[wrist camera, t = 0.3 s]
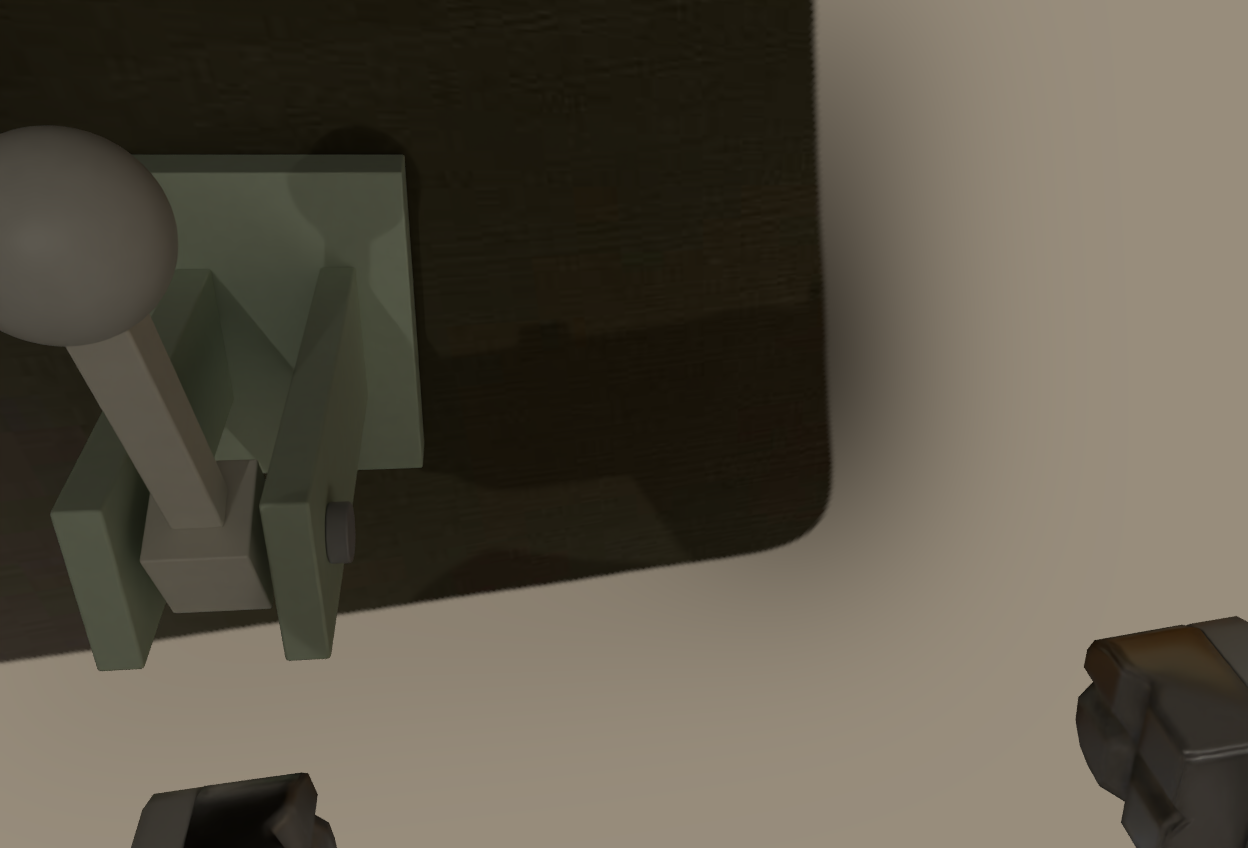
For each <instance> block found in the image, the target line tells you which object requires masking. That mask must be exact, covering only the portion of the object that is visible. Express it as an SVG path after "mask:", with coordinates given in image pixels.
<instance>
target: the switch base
mask: <svg viewBox="0 0 1248 848" xmlns="http://www.w3.org/2000/svg"><path fill="white" fill-rule="evenodd" d="M133 156H134V157H135V158H136V159H138V160H139V161H140V162H141V163H142V164H143V165H144V166H145V167H146V168H147V169H148V170H149V172H150V173H151V174H152V175H153V176H154V178H155V179H156V180H157V181H158V183H159V184H160V186H161V187H162V189H163V191H164V193H165V195H166V197H167V199H168V201H169V203H170V205H171V208H172V211H173V214H174V217H175V221H176V225H177V233H178V257H177V263H176V267H175V271H174V275H173V277H172V280H171V282H170V285H169V287H168V289H167V291H166V293H165V294H164V296H163V297H162V299H161V300H160V301H159V303H158V304H157V306H156V307H155V308H154V309H153V310H152V311H151V312H150V313H149V314H150V316H151V319H152V321H153V323H154V325H155V327H156V330H157V332H158V334H159V336H160V339H161V341H162V343H163V345H164V347H165V350H166V352H167V354H168V356H169V358H170V361H171V363H172V365H173V367H174V370H175V372H176V374H177V376H178V378H179V381H180V383H181V385H182V387H183V390H184V392H185V394H186V396H187V398H188V401H189V403H190V405H191V407H192V409H193V412H194V414H195V416H196V418H197V421H198V423H199V425H200V427H201V429H202V432H203V434H204V436H205V438H206V441H207V443H208V445H209V447H210V449H211V452H212V454H213V456H214V458H215V460H216V461H223V460H253V459H256V460H258V462H259V465H260V467H261V470H262V473H267V477H266V481H265V485H264V489H263V492H262V496H261V500H260V504H259V509H260V515H261V521H262V527H263V532H264V538H265V544H266V549H267V555H268V561H269V567H270V572H271V578H272V584H273V589H274V595H275V601H276V607H277V612H278V618H279V624H280V629H281V635H282V641H283V646H284V652H285V657H286V659H287V660H289V661H291V660H310V659H327V658H330V656H331V652H332V644H333V638H334V630H335V624H336V617H337V610H338V603H339V596H340V589H341V582H342V575H343V568H344V563H351V562H352V561H353V558H354V552H355V519H354V510H353V506H352V504H353V497H354V490H355V483H356V476H357V470H366V469H395V468H421V467H422V466H423V454H424V432H423V418H422V403H421V389H420V374H419V360H418V346H417V331H416V317H415V302H414V288H413V274H412V259H411V245H410V230H409V216H408V202H407V187H406V173H405V158H404V155H133ZM149 496H150V492H149V490H148V488H147V486H146V485H145V483H144V481H143V480H142V478H141V476H140V474H139V473H138V471H137V469H136V467H135V466H134V464H133V462H132V461H131V459H130V457H129V455H128V454H127V452H126V450H125V448H124V447H123V445H122V443H121V442H120V440H119V438H118V436H117V435H116V433H115V431H114V430H113V428H112V426H111V424H110V423H109V421H108V419H107V417H106V416H105V414H104V412H103V411H102V413H101V415H100V417H99V419H98V421H97V423H96V425H95V427H94V429H93V431H92V433H91V435H90V437H89V439H88V441H87V443H86V444H85V446H84V448H83V450H82V452H81V454H80V456H79V458H78V460H77V462H76V464H75V466H74V468H73V470H72V472H71V474H70V476H69V478H68V479H67V481H66V483H65V485H64V487H63V489H62V491H61V493H60V495H59V497H58V499H57V501H56V503H55V505H54V507H53V509H52V511H51V513H50V515H51V518H52V522H53V525H54V528H55V532H56V535H57V538H58V541H59V545H60V548H61V551H62V554H63V558H64V561H65V564H66V568H67V571H68V574H69V577H70V581H71V584H72V587H73V590H74V594H75V597H76V600H77V603H78V607H79V610H80V613H81V617H82V620H83V623H84V626H85V630H86V633H87V636H88V639H89V643H90V646H91V649H92V652H93V656H94V659H95V662H96V666H97V669H98V670H99V671H112V670H130V669H142V668H144V666H145V663H146V660H147V657H148V654H149V651H150V648H151V645H152V642H153V639H154V636H155V633H156V630H157V627H158V624H159V621H160V618H161V615H162V612H163V609H164V606H165V603H166V600H165V599H164V598H163V596H162V595H161V593H160V592H159V590H158V589H157V587H156V586H155V584H154V583H153V581H152V580H151V578H150V577H149V575H148V574H147V572H146V571H145V569H144V568H143V566H142V565H141V563H140V555H141V548H142V542H143V535H144V529H145V522H146V516H147V509H148V503H149Z"/></svg>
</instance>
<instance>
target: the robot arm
mask: <svg viewBox="0 0 1248 848" xmlns="http://www.w3.org/2000/svg"><path fill="white" fill-rule="evenodd" d="M1084 668H1085V669H1086V671H1087V673H1088V674H1089V676H1090V677H1091V679H1092V681H1093V683H1092V684H1091V685H1090V686H1089V687H1088V688H1087V689H1086V690H1085V691H1084V692H1083V693H1082V694H1081V695H1080V696H1079V697H1078V705H1077V712H1076V725H1077V731H1078V737H1079V743H1080V747H1081V749H1082V752H1083V755H1084V757H1085V760H1086V762H1087V765H1088V767H1089V769H1090V770H1091V772H1092V774H1093V775H1094V777H1095V779H1096V781H1097V783H1098V784H1099V786H1100V787H1102V788H1104V789H1105V790H1107V791H1108V792H1110V793H1112V794H1113V795H1115V796H1116V797H1118V798H1120V799H1121V800H1123V801H1125V804H1124V810H1123V815H1122V821H1121V823H1122V825H1123V827H1124V828H1125V830H1126V831H1127V833H1128V835H1129V836H1130V838H1131V839H1132V841H1133V843H1134V845H1135V846H1136V848H1248V622H1247V621H1245V620H1243V619H1241V618H1239V617H1237V616H1234V617H1228V618H1223V619H1217V620H1211V621H1205V622H1199V623H1193V624H1189V625H1186V626H1185V625H1178V626H1172V627H1166V628H1161V629H1155V630H1150V631H1144V632H1138V633H1133V634H1127V635H1121V636H1116V637H1110V638H1105V639H1099V640H1094V642H1093V643H1092V644H1091V646H1090V647H1089V648H1088V649H1087V654H1086V659H1085V664H1084ZM317 795H318V794H317V792H316V790H315V787H314V785H313V783H312V781H311V778H310V776H309V774H308V773H295V774H288V775H281V776H273V777H266V778H259V779H252V780H245V781H238V782H231V783H223V784H216V785H209V786H204V787H198V788H192V789H185V790H179V791H172V792H164V793H158V794H154V795H153V796H152V797H151V799H150V800H149V801H148V803H147V804H146V806H145V807H144V808H143V810H142V813H141V816H140V820H139V823H138V826H137V830H136V833H135V836H134V840H133V843H132V846H131V848H337V847H336V842H335V838H334V835H333V832H332V830H331V827H330V824H329V822H327V821H325V820H323V819H321V818H320V817H318V816H316V815H315V810H316V803H317Z"/></svg>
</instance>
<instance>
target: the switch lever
mask: <svg viewBox="0 0 1248 848" xmlns="http://www.w3.org/2000/svg"><path fill="white" fill-rule="evenodd" d="M177 257H178V233H177V225H176V221H175V217H174V214H173V211H172V208H171V205H170V203H169V201H168V199H167V197H166V195H165V193H164V191H163V189H162V187H161V186H160V184H159V183H158V181H157V180H156V179H155V178H154V176H153V175H152V174H151V173H150V172H149V170H148V169H147V168H146V167H145V166H144V165H143V164H142V163H141V162H140V161H139V160H138V159H136V158H135V157H134V156H133V155H131V154H130V153H128V152H127V151H126V150H124V149H123V148H122V147H120V146H118V145H117V144H115V143H113V142H111V141H109V140H107V139H105V138H103V137H101V136H98V135H96V134H93V133H90V132H87V131H84V130H80V129H75V128H71V127H64V126H51V125H45V126H30V127H23V128H18V129H14V130H11V131H7V132H4V133H1V134H0V330H1V331H3V332H5V333H7V334H9V335H11V336H14V337H17V338H19V339H22V340H26V341H29V342H33V343H38V344H43V345H50V346H65V347H66V348H67V350H68V352H69V354H70V355H71V357H72V359H73V361H74V362H75V364H76V366H77V367H78V369H79V371H80V373H81V374H82V376H83V378H84V379H85V381H86V383H87V385H88V386H89V388H90V390H91V392H92V393H93V395H94V397H95V398H96V400H97V402H98V404H99V405H100V407H101V409H102V411H103V412H104V414H105V416H106V417H107V419H108V421H109V423H110V424H111V426H112V428H113V430H114V431H115V433H116V435H117V436H118V438H119V440H120V442H121V443H122V445H123V447H124V448H125V450H126V452H127V454H128V455H129V457H130V459H131V461H132V462H133V464H134V466H135V467H136V469H137V471H138V473H139V474H140V476H141V478H142V480H143V481H144V483H145V485H146V486H147V488H148V490H149V492H150V496H149V503H148V509H147V516H146V522H145V529H144V535H143V542H142V548H141V555H140V563H141V565H142V566H143V568H144V569H145V571H146V572H147V574H148V575H149V577H150V578H151V580H152V581H153V583H154V584H155V586H156V587H157V589H158V590H159V592H160V593H161V595H162V596H163V598H164V599H165V600H166V602H167V603H168V605H169V606H170V608H171V609H172V611H173V612H174V613H188V612H209V611H229V610H249V609H269V608H272V606H273V594H274V589H273V584H272V578H271V572H270V567H269V561H268V555H267V549H266V544H265V538H264V532H263V527H262V521H261V515H260V509H259V504H260V500H261V496H262V492H263V489H264V485H265V481H266V480H265V478H264V475H263V473H262V470H261V467H260V465H259V462H258V460H256V459H253V460H223V461H216V460H215V458H214V456H213V454H212V452H211V449H210V447H209V445H208V443H207V441H206V438H205V436H204V434H203V432H202V429H201V427H200V425H199V423H198V421H197V418H196V416H195V414H194V412H193V409H192V407H191V405H190V403H189V401H188V398H187V396H186V394H185V392H184V390H183V387H182V385H181V383H180V381H179V378H178V376H177V374H176V372H175V370H174V367H173V365H172V363H171V361H170V358H169V356H168V354H167V352H166V350H165V347H164V345H163V343H162V341H161V339H160V336H159V334H158V332H157V330H156V327H155V325H154V323H153V321H152V319H151V316H150V314H149V313H150V312H151V311H152V310H153V309H154V308H155V307H156V306H157V304H158V303H159V301H160V300H161V299H162V297H163V296H164V294H165V293H166V291H167V289H168V287H169V285H170V282H171V280H172V277H173V275H174V271H175V267H176V263H177Z"/></svg>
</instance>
